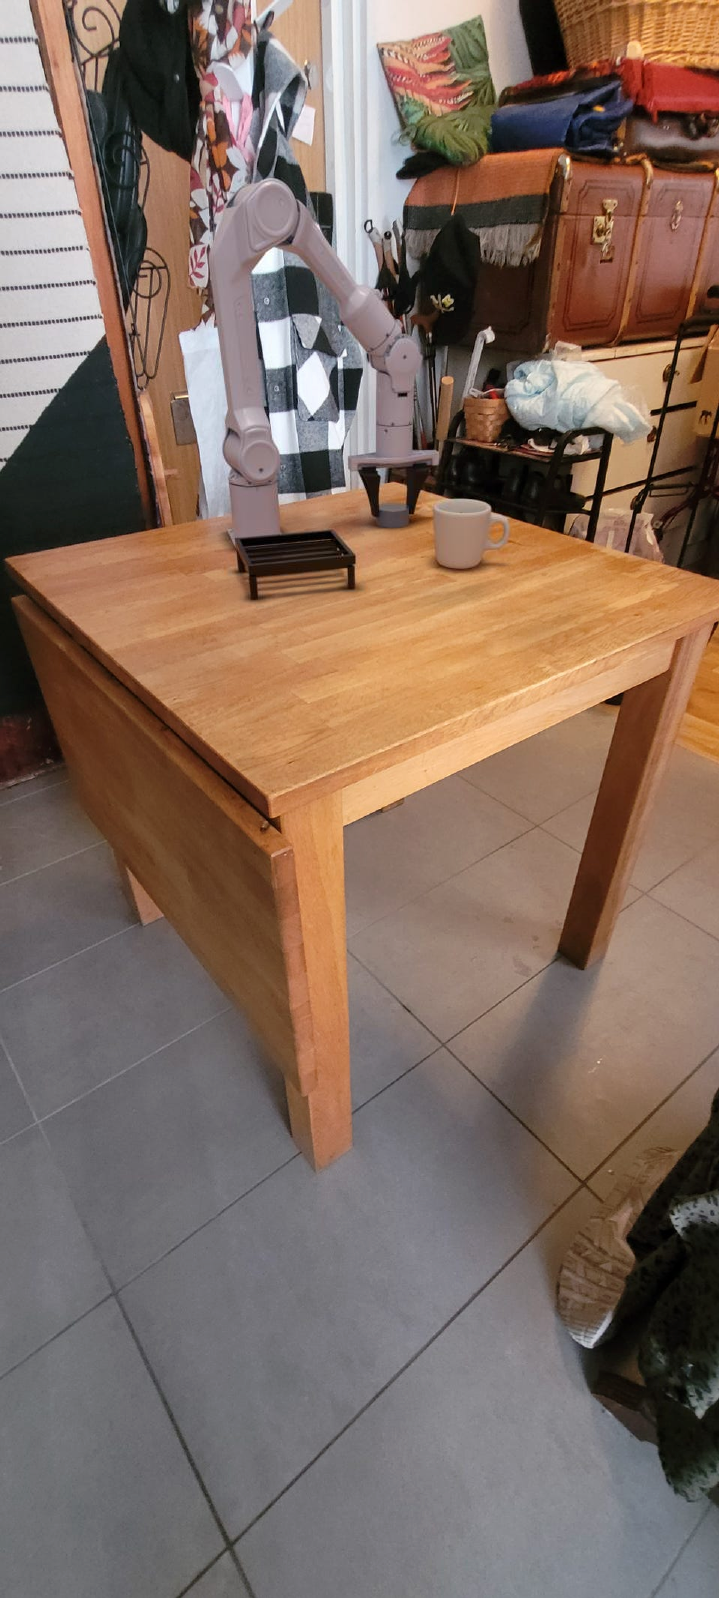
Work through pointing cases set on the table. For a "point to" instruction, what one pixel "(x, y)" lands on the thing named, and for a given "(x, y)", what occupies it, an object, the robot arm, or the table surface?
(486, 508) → the cup
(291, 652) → the table surface
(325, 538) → the rack
